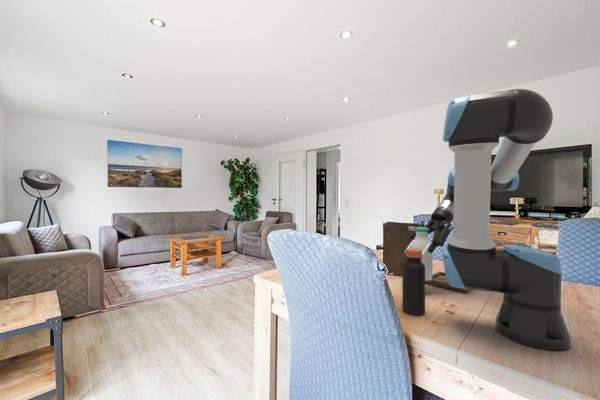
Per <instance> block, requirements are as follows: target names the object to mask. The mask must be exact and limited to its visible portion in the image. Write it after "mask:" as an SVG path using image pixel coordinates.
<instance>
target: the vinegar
mask: <svg viewBox="0 0 600 400" xmlns="http://www.w3.org/2000/svg"><path fill="white" fill-rule="evenodd" d="M421 257H422V250H420V249H413V248H409V249H406V258H407V260H406V261H405V262H404V263H403V265H402V276H401V278H402V284H401V285H402V291H401V292H402V299H401V300H402V302H401V303H402V304H401V305H402V306H401V307H402V310H403V312H404V313H406V314H408V315H413V316H422V315H424V314H425V312H426V284H425V266H424V264H423V263H422V262H421V259H422V258H421Z"/></svg>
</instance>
